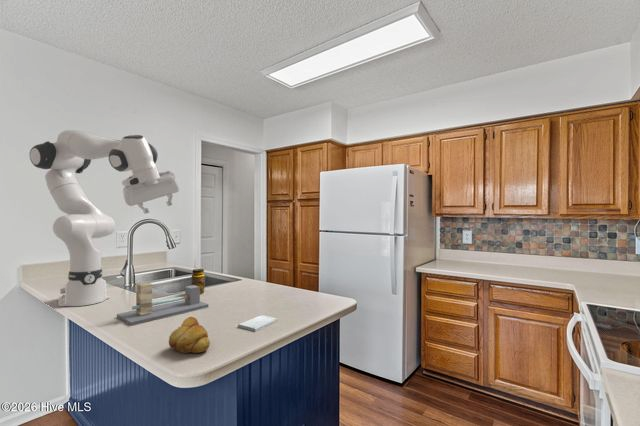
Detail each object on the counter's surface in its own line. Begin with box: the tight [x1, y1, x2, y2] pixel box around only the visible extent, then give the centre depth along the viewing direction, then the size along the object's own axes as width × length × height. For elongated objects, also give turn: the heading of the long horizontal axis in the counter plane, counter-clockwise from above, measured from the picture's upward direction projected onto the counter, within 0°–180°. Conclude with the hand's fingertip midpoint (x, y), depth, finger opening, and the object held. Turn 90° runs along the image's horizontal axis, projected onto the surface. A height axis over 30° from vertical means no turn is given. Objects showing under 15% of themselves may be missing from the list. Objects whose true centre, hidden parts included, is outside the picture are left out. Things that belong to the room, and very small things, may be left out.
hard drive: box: [237, 314, 279, 332], centre depth 114 cm, size 2×8×12 cm
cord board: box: [116, 284, 209, 327], centre depth 127 cm, size 14×30×8 cm, turn 140°
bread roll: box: [168, 316, 211, 354], centre depth 93 cm, size 13×10×8 cm
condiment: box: [191, 268, 207, 296], centre depth 156 cm, size 7×8×12 cm
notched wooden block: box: [135, 281, 153, 315], centre depth 121 cm, size 4×4×11 cm
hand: (158, 209), depth 129 cm, fingers open, 8 cm apart
